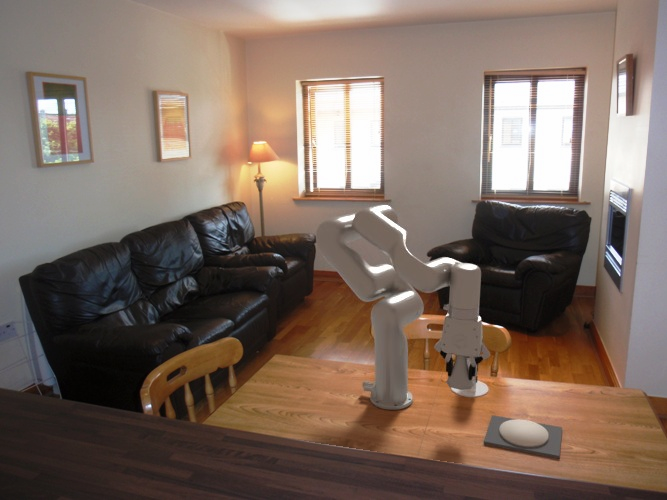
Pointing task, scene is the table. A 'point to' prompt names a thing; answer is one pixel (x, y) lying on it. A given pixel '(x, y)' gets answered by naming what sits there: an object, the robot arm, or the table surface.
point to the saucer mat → (524, 436)
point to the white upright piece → (477, 388)
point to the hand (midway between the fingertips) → (460, 375)
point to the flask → (460, 374)
